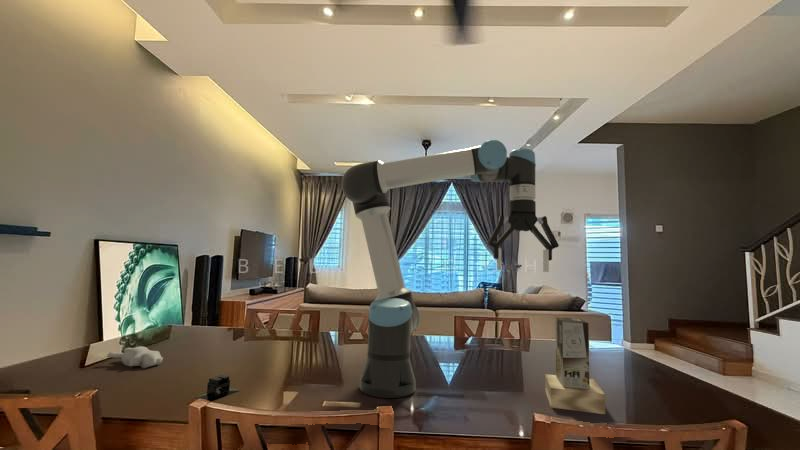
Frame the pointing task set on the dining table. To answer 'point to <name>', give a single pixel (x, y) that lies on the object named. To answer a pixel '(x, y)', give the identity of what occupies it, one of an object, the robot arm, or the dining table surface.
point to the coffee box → (572, 352)
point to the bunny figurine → (138, 357)
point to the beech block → (575, 396)
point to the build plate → (222, 385)
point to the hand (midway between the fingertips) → (522, 271)
